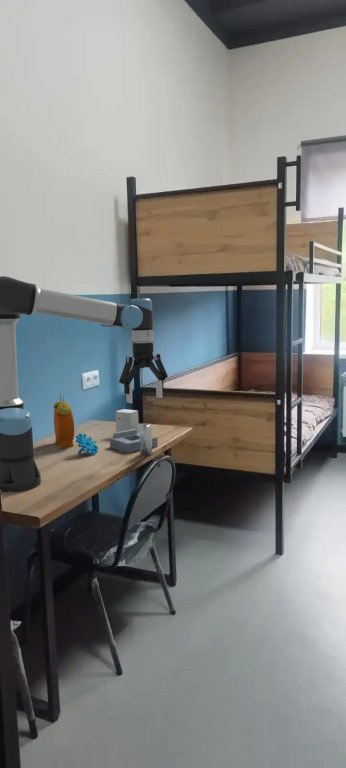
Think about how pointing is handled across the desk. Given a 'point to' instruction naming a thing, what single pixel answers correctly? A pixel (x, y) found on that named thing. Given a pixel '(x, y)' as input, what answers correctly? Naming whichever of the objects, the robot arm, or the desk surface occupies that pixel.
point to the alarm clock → (63, 424)
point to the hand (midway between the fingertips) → (144, 400)
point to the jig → (128, 441)
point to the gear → (86, 444)
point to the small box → (126, 420)
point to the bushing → (145, 439)
